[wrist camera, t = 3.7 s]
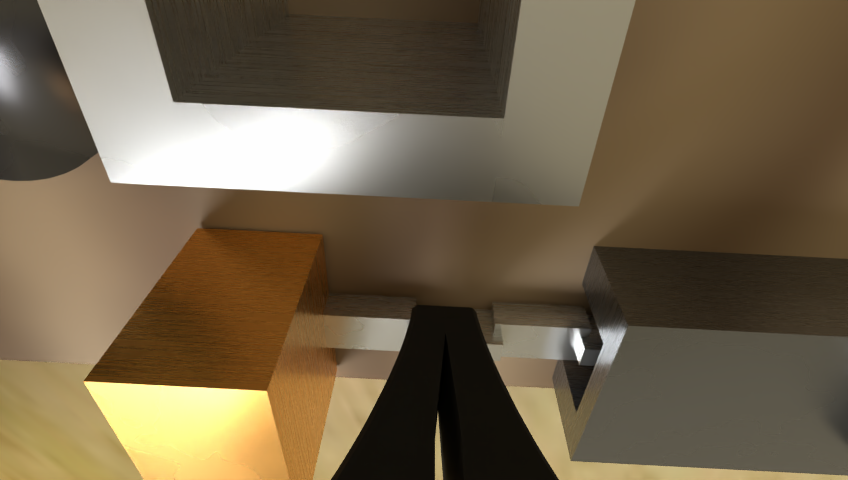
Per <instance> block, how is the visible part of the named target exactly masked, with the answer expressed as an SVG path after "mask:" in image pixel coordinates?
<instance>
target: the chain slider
mask: <svg viewBox="0 0 848 480" xmlns="http://www.w3.org/2000/svg"><path fill="white" fill-rule="evenodd" d="M415 306H416V298H410V297H390V296H371V295H351V294H332V293H329V289H328V280H327V271H326V261H325V252H324V243H323V235H322V234H303V233H283V232H263V231H244V230H224V229H205V228H197V229H196V230H195V232H194V233H193V235H192V236H191V237H190V239H189V240H188V241H187V243H186V244H185V245H184V247H183V248H182V249H181V251H180V252H179V253H178V255H177V256H176V257H175V259H174V260H173V261H172V263H171V264H170V266H169V267H168V268H167V270H166V271H165V272H164V274H163V275H162V276H161V278H160V279H159V280H158V282H157V283H156V284H155V286H154V287H153V288H152V290H151V291H150V292H149V294H148V295H147V297H146V298H145V299H144V301H143V302H142V303H141V305H140V306H139V307H138V309H137V310H136V311H135V313H134V314H133V315H132V317H131V318H130V319H129V321H128V322H127V323H126V325H125V326H124V328H123V329H122V330H121V332H120V333H119V334H118V336H117V337H116V338H115V340H114V341H113V342H112V344H111V345H110V346H109V348H108V349H107V350H106V352H105V353H104V354H103V356H102V357H101V359H100V360H99V361H98V363H97V364H96V365H95V367H94V368H93V369H92V371H91V372H90V373H89V375H88V376H87V377H86V379H85V380H84V381H83V382H84V383H85V385H86V387H87V388H88V390H89V391H90V393H91V395H92V396H93V398H94V399H95V401H96V403H97V404H98V406H99V408H100V409H101V411H102V412H103V414H104V416H105V417H106V419H107V420H108V422H109V424H110V425H111V427H112V429H113V430H114V432H115V433H116V435H117V437H118V438H119V440H120V441H121V443H122V445H123V446H124V448H125V449H126V451H127V453H128V454H129V456H130V458H131V459H132V461H133V462H134V464H135V466H136V467H137V469H138V470H139V472H140V474H141V475H142V477H143V479H144V480H313V475H314V471H315V466H316V462H317V457H318V453H319V448H320V444H321V439H322V435H323V431H324V426H325V422H326V417H327V413H328V408H329V404H330V399H331V395H332V390H333V386H334V381H335V377H336V372H337V363H336V354H335V348H344V349H364V350H383V351H400V349H401V346H402V344H403V341H404V338H405V335H406V332H407V329H408V325H409V321H410V317H411V311H412V308H413V307H415ZM474 310H475V311H476V313H477V317H478V320H479V323H480V327H481V330H482V333H483V335H484V338H485V341H486V343H487V346H488V348H489V351H490V353H491V356H492V358H493V360H494V361H500V359H501V357H518V358H538V359H557V360H576V361H578V363H579V365H586V366H595V364H596V361H597V359H598V356H599V354H600V351H601V349H602V346H603V341H602V338H601V335H600V333H599V330H598V327H597V324H596V321H595V319H594V316H593V315H587V314H586V311H585V308H584V306H566V305H546V304H527V303H507V302H492V308H491V310H482V309H474Z"/></svg>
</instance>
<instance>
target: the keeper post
mask: <svg viewBox="0 0 848 480" xmlns="http://www.w3.org/2000/svg"><path fill="white" fill-rule="evenodd" d="M97 153H98V150H97V147H96V145H95V142H94V140H93V137H92V135H91V132H90V130H89V128H88V125H87V123H86V120H85V118H84V115H83V113H82V110H81V108H80V105H79V103H78V100H77V98H76V95H75V93H74V90H73V88H72V85H71V83H70V80H69V78H68V75H67V73H66V71H65V68H64V66H63V63H62V61H61V58H60V56H59V53H58V51H57V48H56V46H55V43H54V41H53V38H52V36H51V33H50V31H49V28H48V26H47V23H46V21H45V19H44V16H43V14H42V11H41V9H40V6H39V4H38V1H37V0H0V180H8V181H34V180H41V179H49V178H52V177H56V176H59V175H62V174H65V173H67V172H70V171H72V170H74V169H76V168H78V167H79V166H81V165H82V164H84V163H85V162H86V161H88V160H89V159H90V158H92V157H93V156H94V155H96V154H97Z"/></svg>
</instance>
